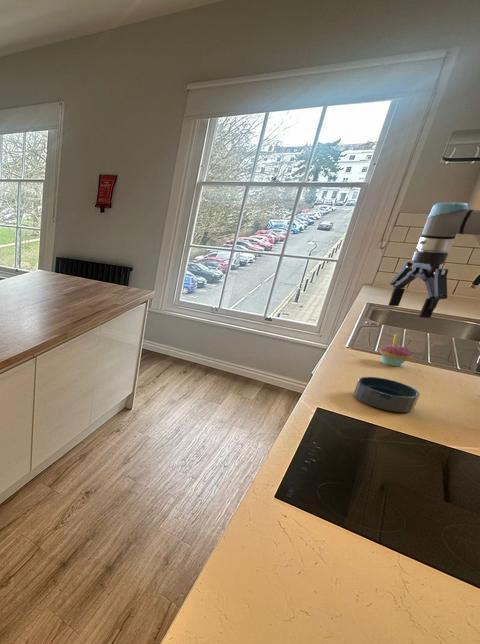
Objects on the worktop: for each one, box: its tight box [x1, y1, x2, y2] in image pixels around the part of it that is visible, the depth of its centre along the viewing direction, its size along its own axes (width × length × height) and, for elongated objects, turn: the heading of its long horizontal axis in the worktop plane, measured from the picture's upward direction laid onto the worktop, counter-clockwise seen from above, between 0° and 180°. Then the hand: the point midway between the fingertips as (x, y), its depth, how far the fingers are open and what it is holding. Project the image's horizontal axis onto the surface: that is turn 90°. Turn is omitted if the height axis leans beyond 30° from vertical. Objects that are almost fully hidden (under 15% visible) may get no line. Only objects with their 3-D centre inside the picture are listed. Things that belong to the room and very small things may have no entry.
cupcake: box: [379, 331, 414, 367], centre depth 146 cm, size 9×8×12 cm
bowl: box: [353, 376, 421, 413], centre depth 122 cm, size 13×13×6 cm
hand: (408, 311), depth 141 cm, fingers open, 13 cm apart
